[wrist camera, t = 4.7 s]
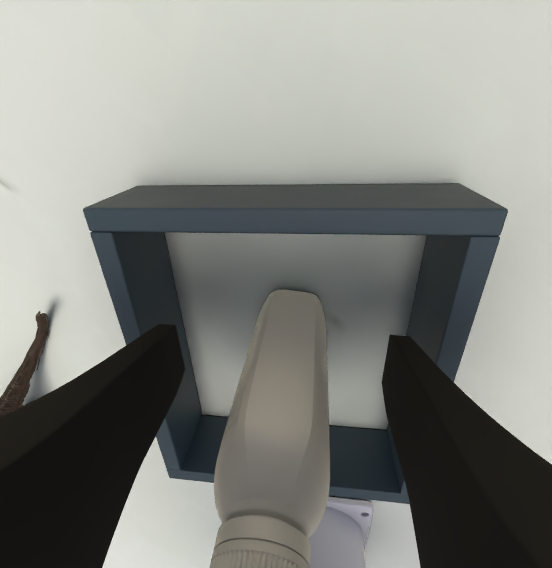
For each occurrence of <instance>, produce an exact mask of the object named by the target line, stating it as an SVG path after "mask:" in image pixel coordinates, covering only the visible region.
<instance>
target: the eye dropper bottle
mask: <svg viewBox="0 0 552 568" xmlns="http://www.w3.org/2000/svg"><path fill="white" fill-rule="evenodd" d="M329 486H330V441H329V406H328V372H327V340H326V322H325V316H324V311H323V308H322V305H321V302H320V300H319V299H318V297H317V296H316V295H314V294H311V293H307V292H300V291H292V290H282V289H280V290H275V291H273V292H272V293H270V295H269V296H268V298H267V299H266V301H265V303H264V304H263V307H262V309H261V311H260V314H259V316H258V319H257V323H256V326H255V329H254V333H253V336H252V340H251V343H250V346H249V350H248V353H247V357H246V360H245V363H244V367H243V370H242V373H241V377H240V380H239V384H238V387H237V391H236V394H235V397H234V401H233V404H232V408H231V411H230V414H229V418H228V421H227V425H226V428H225V432H224V435H223V439H222V442H221V446H220V450H219V454H218V458H217V462H216V467H215V475H214V495H215V503H216V508H217V511H218V514H219V517H220V519H221V521H222V523H223V524H222V525H221V526H220V528H219V530H218V534H217V538H216V542H215V547H214V551H213V555H212V559H211V564H210V568H310V542H309V540H308V538H310V537H311V536H312V534H313V533H314V532H315V530H316V529H317V527H318V525H319V523H320V522H321V519H322V517H323V514H324V511H325V508H326V505H327V500H328V495H329Z"/></svg>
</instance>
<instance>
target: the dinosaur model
mask: <svg viewBox="0 0 552 568" xmlns="http://www.w3.org/2000/svg"><path fill="white" fill-rule="evenodd" d="M48 318H49V317H48ZM36 321H37V326H38V329H37V333H36V337H35V340H34V342H33V343H32V345H31V347H30V349H29V350H28V352H27V354H26V357H25V359H24V361H23V363H22V364H21V366H20V367H19V369H18V371H17V372H16V374H15V376H14V377H13V379H12V381H11V382H10V384H9V385H8V387H7V388H6V390H5V392H4V393H3V395H2V396H1V398H0V417H1V416H4V415H6V414H8V413H10V412H12V411H14V410H16V409H18V408H21V407H23V406H25V405H22V403H23V402H24V398H25V397H26V394H27V393H28V390H29V387H30V379H31V378H32V375H33V374H34V371H35V368H36V365H37V361H38V359H39V361H40V356H41V354H42V353H43V350H42V348H43V345H44V341H45V336H46V334H47V329H48V323H49V322H48V319H47V314H46V313H42V314H40V311H39V312H38V313H37V315H36ZM48 335H49V332H48ZM48 335H47V340H48ZM39 361H38V365H39ZM37 369H38V367H37Z"/></svg>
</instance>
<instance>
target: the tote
mask: <svg viewBox="0 0 552 568" xmlns="http://www.w3.org/2000/svg"><path fill="white" fill-rule="evenodd" d="M83 212H84V215H85V218H86V221H87V224H88V227H89V230H90V231H92V232H91V237H92V240H93V243H94V246H95V250H96V253H97V256H98V259H99V262H100V265H101V268H102V271H103V274H104V277H105V280H106V283H107V287H108V290H109V293H110V296H111V299H112V302H113V305H114V308H115V311H116V314H117V317H118V320H119V324H120V327H121V330H122V333H123V336H124V339H125V342H126V345H128V344H129V343H131V342H132V341H134V340H135V339H137V338H138V337H140V336H141V335H143V334H144V333H145V332H147V331H149V330H150V329H152V328H153V327H155V326H157V325H158V324H170V325H176V328H177V333H178V337H179V342H180V346H181V351H182V355H183V360H184V365H185V372H184V375H183V378H182V381H181V384H180V387H179V389H178V392H177V395H176V397H175V399H174V401H173V403H172V405H171V407H170V409H169V411H168V413H167V415H166V417H165V419H164V421H163V423H162V425H161V427H160V429H159V431H158V432H157V434H156V437H157V441H158V444H159V447H160V450H161V453H162V456H163V459H164V462H165V465H166V468H167V472H168V475H169V477H170V478H175V479H185V480H194V481H203V482H212V483H214V475H215V467H216V462H217V458H218V454H219V450H220V446H221V442H222V439H223V435H224V432H225V428H226V425H227V421H228V417H216V416H204V415H202V413H201V408H200V403H199V399H198V394H197V389H196V384H195V379H194V375H193V370H192V365H191V360H190V356H189V351H188V346H187V341H186V336H185V332H184V327H183V322H182V317H181V312H180V308H179V303H178V298H177V293H176V288H175V284H174V279H173V274H172V269H171V264H170V260H169V255H168V250H167V245H166V240H165V236H164V232H189V233H279V234H369V235H427V239H426V243H425V248H424V253H423V258H422V263H421V268H420V273H419V278H418V282H417V287H416V292H415V297H414V302H413V307H412V312H411V316H410V321H409V326H408V331H407V336H410V337H411V338H412V339H413V340H414V341H415V342H416V343H417V344H418V345H419V346H420V348H421V349H422V350H423V351H424V352H425V353H426V354H427V355H428V356H429V357H430V358H431V359H432V361H433V362H434V363H435V364H436V365H437V366H438V367H439V368H440V369H441V370H442V371H443V372H444V373H445V374H446V375H447V376H448V377H449V378H450V379H451V380H452V381H453V382H454V380H455V376H456V373H457V370H458V367H459V364H460V361H461V358H462V355H463V352H464V349H465V345H466V342H467V339H468V336H469V333H470V330H471V327H472V324H473V321H474V317H475V314H476V311H477V308H478V305H479V302H480V299H481V296H482V293H483V289H484V286H485V283H486V280H487V277H488V274H489V271H490V268H491V265H492V262H493V258H494V255H495V252H496V249H497V246H498V243H499V240H500V237H499V235H500V234H501V231H502V228H503V225H504V222H505V219H506V216H507V213H508V210H507V209H506V208H504V207H503V206H501V205H499V204H497V203H495V202H493V201H491V200H489V199H487V198H486V197H484V196H482V195H480V194H478V193H476V192H474V191H472V190H470V189H468V188H467V187H465V186H463V185H461V184H459V183H455V184H321V185H186V186H136V187H133V188H131V189H129V190H126V191H124V192H121V193H119V194H117V195H114V196H112V197H109V198H107V199H105V200H102V201H100V202H97V203H95V204H93V205H90V206H88V207H85V208H84V209H83ZM329 441H330V486H329V495H332V496H341V497H350V498H359V499H368V500H377V501H387V502H396V503H405V504H410V502H409V497H408V493H407V488H406V484H405V480H404V477H403V473H402V469H401V466H400V462H399V458H398V455H397V451H396V447H395V444H394V440H393V436H392V433H391V429H390V425H389V423H388V428H387V431H385V430H373V429H361V428H349V427H337V426H329Z"/></svg>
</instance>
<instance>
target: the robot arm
mask: <svg viewBox="0 0 552 568" xmlns="http://www.w3.org/2000/svg"><path fill="white" fill-rule="evenodd" d="M184 372H185V365H184V360H183V355H182V351H181V346H180V342H179V337H178V333H177V328H176V325H170V324H158V325H157V326H155V327H153V328H152V329H150V330H149V331H147V332H145V333H144V334H143V335H141V336H140V337H138V338H137V339H135V340H134V341H132V342H131V343H129V344H128V345H126V346H125V347H123V348H122V349H120V350H119V351H117V352H116V353H114V354H113V355H111V356H110V357H108V358H107V359H105V360H104V361H102V362H101V363H99V364H97V365H96V366H94V367H93V368H91V369H89V370H88V371H86V372H85V373H83V374H81V375H80V376H78V377H77V378H75V379H73V380H72V381H70V382H68V383H66V384H65V385H63V386H61V387H59V388H58V389H56V390H54V391H52V392H50V393H48V394H46V395H44V396H43V397H41V398H39V399H37V400H35V401H33V402H31V403H29V404H27V405H25V406H23V407H21V408H18V409H16V410H14V411H12V412H10V413H8V414H6V415H4V416H1V417H0V568H102V566H103V563H104V561H105V558H106V555H107V552H108V549H109V546H110V543H111V540H112V538H113V535H114V532H115V530H116V527H117V524H118V522H119V519H120V516H121V513H122V511H123V508H124V505H125V503H126V500H127V498H128V495H129V493H130V490H131V488H132V485H133V483H134V480H135V478H136V475H137V473H138V471H139V468H140V466H141V464H142V462H143V460H144V458H145V456H146V454H147V452H148V450H149V448H150V446H151V444H152V442H153V440H154V438H155V436H156V434H157V432H158V431H159V429H160V427H161V425H162V423H163V421H164V419H165V417H166V415H167V413H168V411H169V409H170V407H171V405H172V403H173V401H174V399H175V397H176V395H177V392H178V389H179V387H180V384H181V381H182V378H183V375H184ZM382 387H383V395H384V402H385V408H386V414H387V417H388V421H389V425H390V429H391V433H392V436H393V440H394V444H395V447H396V451H397V455H398V458H399V462H400V466H401V469H402V473H403V477H404V480H405V484H406V488H407V493H408V497H409V502H410V507H411V513H412V519H413V524H414V530H415V536H416V542H417V548H418V554H419V560H420V566H421V568H552V464H550V463H549V462H547V461H546V460H545V459H543V458H542V457H540V456H539V455H538V454H536V453H535V452H534V451H533V450H531V449H530V448H529V447H527V446H526V445H525V444H523V443H522V442H521V441H520V440H518V439H517V438H516V437H515V436H513V435H512V434H511V433H510V432H508V431H507V430H506V429H505V428H503V427H502V426H501V425H500V424H498V423H497V422H496V421H495V420H494V419H493V418H491V417H490V416H489V415H488V414H487V413H486V412H485V411H483V410H482V409H481V408H480V407H479V406H478V405H477V404H476V403H475V402H474V401H472V400H471V399H470V398H469V397H468V396H467V395H466V394H465V393H464V392H463V391H462V390H461V389H460V388H459V387H458V386H457V385H456V384H455V383H454V382H453V381H452V380H451V379H450V378H449V377H448V376H447V375H446V374H445V373H444V372H443V371H442V370H441V369H440V368H439V367H438V366H437V365H436V364H435V363H434V362H433V361H432V359H431V358H430V357H429V356H428V355H427V354H426V353H425V352H424V351H423V350H422V349H421V348H420V346H419V345H418V344H417V343H416V342H415V341H414V340H413V339H412V338H411V337H410V336H399V335H390V338H389V343H388V349H387V355H386V361H385V366H384V372H383V378H382ZM372 514H373V505H372V503H371V502H369V501H364V500H355V499H346V498H337V497H328V500H327V505H326V508H325V511H324V514H323V517H322V519H321V522H320V523H319V525H318V527H317V529H316V530H315V532H314V533H313V534H312V536H311V537H310V538H308V540H309V542H310V568H366V567H365V557H364V552H365V547H366V542H367V538H368V533H369V528H370V524H371V519H372Z"/></svg>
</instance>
